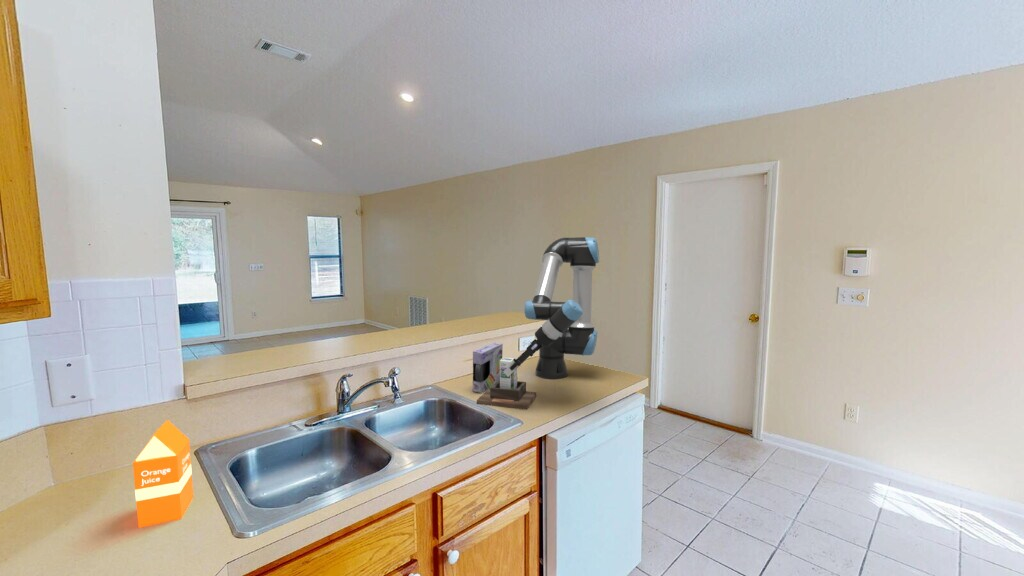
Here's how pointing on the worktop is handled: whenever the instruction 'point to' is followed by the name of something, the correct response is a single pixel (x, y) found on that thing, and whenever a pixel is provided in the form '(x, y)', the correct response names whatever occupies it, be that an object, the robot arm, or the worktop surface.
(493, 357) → the cake pan box
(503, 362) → the syrup box
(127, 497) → the worktop surface
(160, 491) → the orange juice
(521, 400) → the socket board
